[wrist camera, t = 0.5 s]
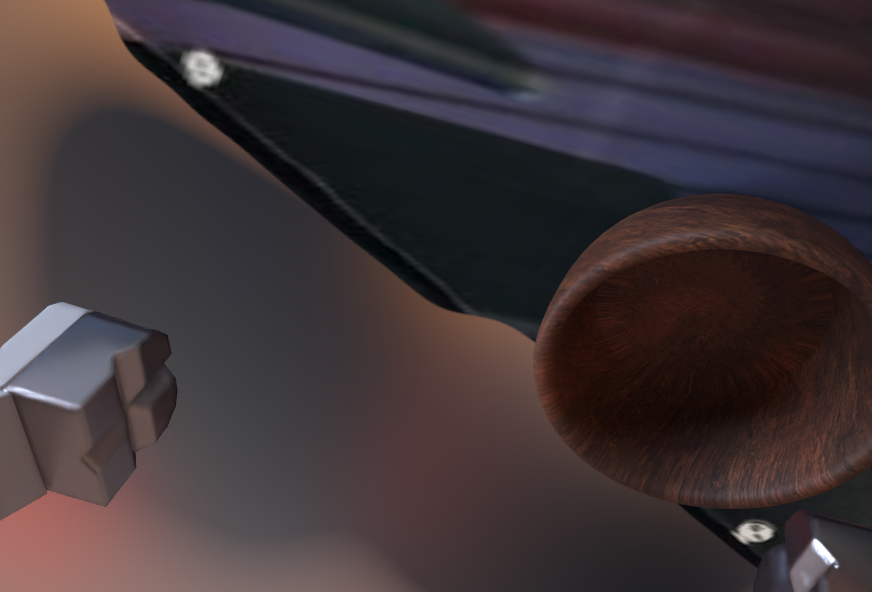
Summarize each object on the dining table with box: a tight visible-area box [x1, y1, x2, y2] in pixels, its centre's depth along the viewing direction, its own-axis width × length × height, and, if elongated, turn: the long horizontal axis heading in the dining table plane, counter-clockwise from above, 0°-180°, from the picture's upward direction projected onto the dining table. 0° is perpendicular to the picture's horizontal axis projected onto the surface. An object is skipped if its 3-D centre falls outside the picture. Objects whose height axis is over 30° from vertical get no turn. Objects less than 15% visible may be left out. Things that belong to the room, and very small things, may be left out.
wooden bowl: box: [533, 193, 872, 509], centre depth 55 cm, size 25×25×10 cm
